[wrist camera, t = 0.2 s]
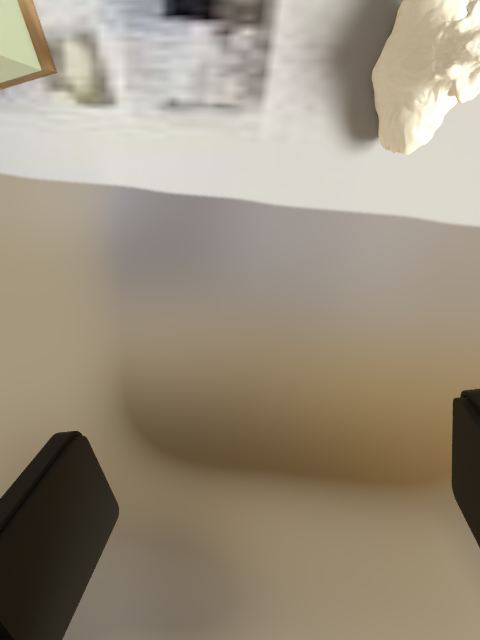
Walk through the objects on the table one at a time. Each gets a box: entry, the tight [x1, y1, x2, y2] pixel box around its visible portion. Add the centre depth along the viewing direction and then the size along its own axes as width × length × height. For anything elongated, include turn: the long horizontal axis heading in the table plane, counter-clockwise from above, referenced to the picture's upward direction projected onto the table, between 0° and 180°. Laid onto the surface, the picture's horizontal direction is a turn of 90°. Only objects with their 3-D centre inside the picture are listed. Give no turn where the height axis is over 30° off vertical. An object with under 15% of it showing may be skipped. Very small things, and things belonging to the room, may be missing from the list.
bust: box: [372, 0, 480, 155], centre depth 27 cm, size 12×8×11 cm
